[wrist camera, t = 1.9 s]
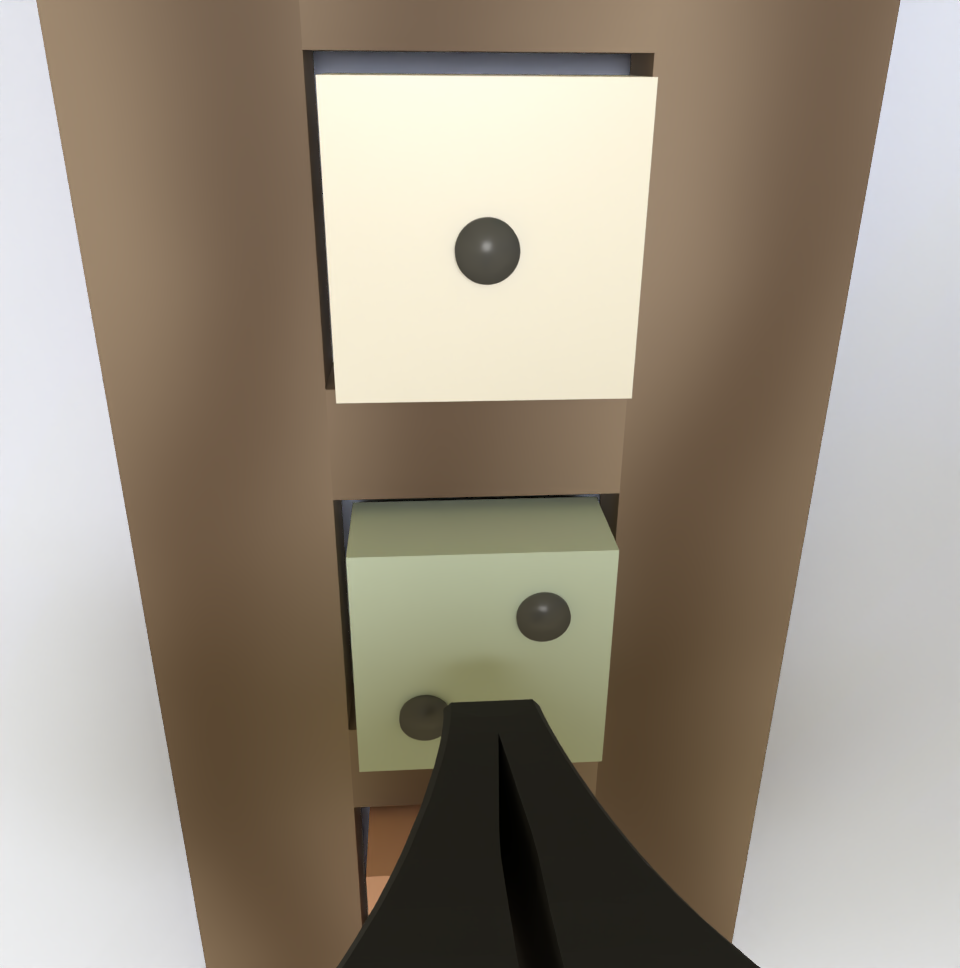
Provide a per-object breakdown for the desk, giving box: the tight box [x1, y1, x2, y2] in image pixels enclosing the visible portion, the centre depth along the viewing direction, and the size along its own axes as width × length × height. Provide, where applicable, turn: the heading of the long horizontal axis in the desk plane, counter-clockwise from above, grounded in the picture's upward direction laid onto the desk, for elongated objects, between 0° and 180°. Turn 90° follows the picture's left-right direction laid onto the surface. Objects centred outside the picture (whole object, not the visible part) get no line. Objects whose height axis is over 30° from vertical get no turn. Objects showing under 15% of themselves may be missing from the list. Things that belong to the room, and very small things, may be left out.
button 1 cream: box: [316, 73, 658, 403], centre depth 13 cm, size 4×4×2 cm
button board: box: [36, 0, 900, 968], centre depth 18 cm, size 12×24×2 cm, turn 0°
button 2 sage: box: [346, 497, 619, 772], centre depth 16 cm, size 4×4×2 cm
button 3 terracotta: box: [366, 805, 421, 916], centre depth 19 cm, size 4×4×2 cm
